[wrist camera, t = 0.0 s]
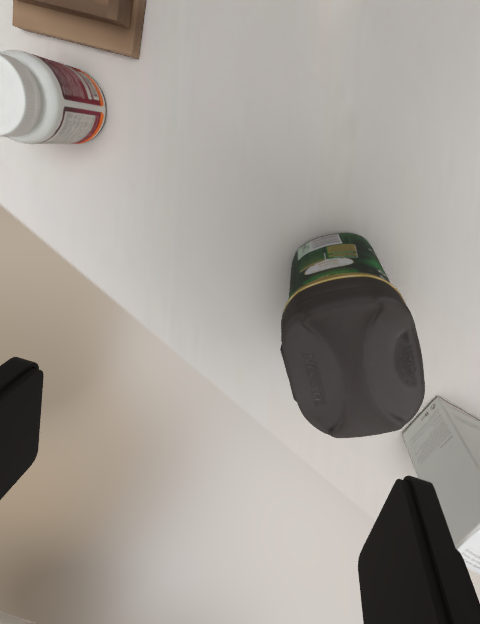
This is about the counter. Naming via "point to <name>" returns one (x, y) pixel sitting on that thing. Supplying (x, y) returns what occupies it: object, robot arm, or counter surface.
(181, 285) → the counter surface
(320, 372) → the coffee jar
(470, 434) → the skincare box
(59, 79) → the pill bottle
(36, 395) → the robot arm
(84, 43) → the caddy
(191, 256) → the counter surface
